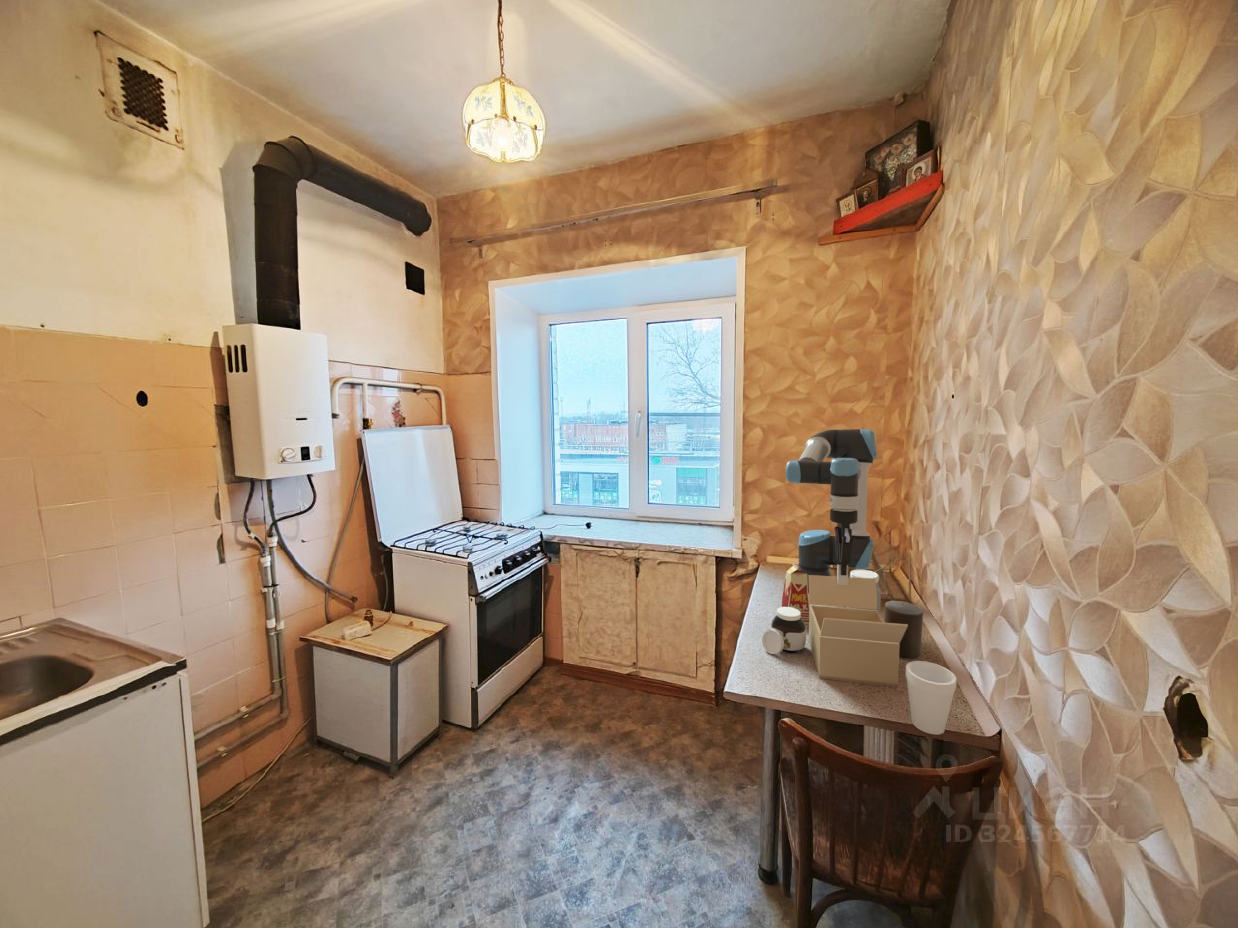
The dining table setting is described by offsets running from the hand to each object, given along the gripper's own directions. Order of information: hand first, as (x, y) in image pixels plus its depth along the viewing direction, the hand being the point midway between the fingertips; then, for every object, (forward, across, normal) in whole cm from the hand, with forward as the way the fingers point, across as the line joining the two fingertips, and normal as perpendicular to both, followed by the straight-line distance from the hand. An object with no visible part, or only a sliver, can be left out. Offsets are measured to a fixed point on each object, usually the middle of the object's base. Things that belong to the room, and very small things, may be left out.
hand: (842, 584), depth 138 cm
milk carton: (+19, -15, -12) cm, 27 cm away
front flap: (+4, +24, 0) cm, 24 cm away
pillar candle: (+19, +1, +16) cm, 25 cm away
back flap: (+2, 0, 0) cm, 2 cm away
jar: (+19, -14, +10) cm, 25 cm away
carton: (+19, +11, 0) cm, 22 cm away
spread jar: (+20, +7, -18) cm, 27 cm away
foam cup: (+20, +35, +11) cm, 42 cm away
